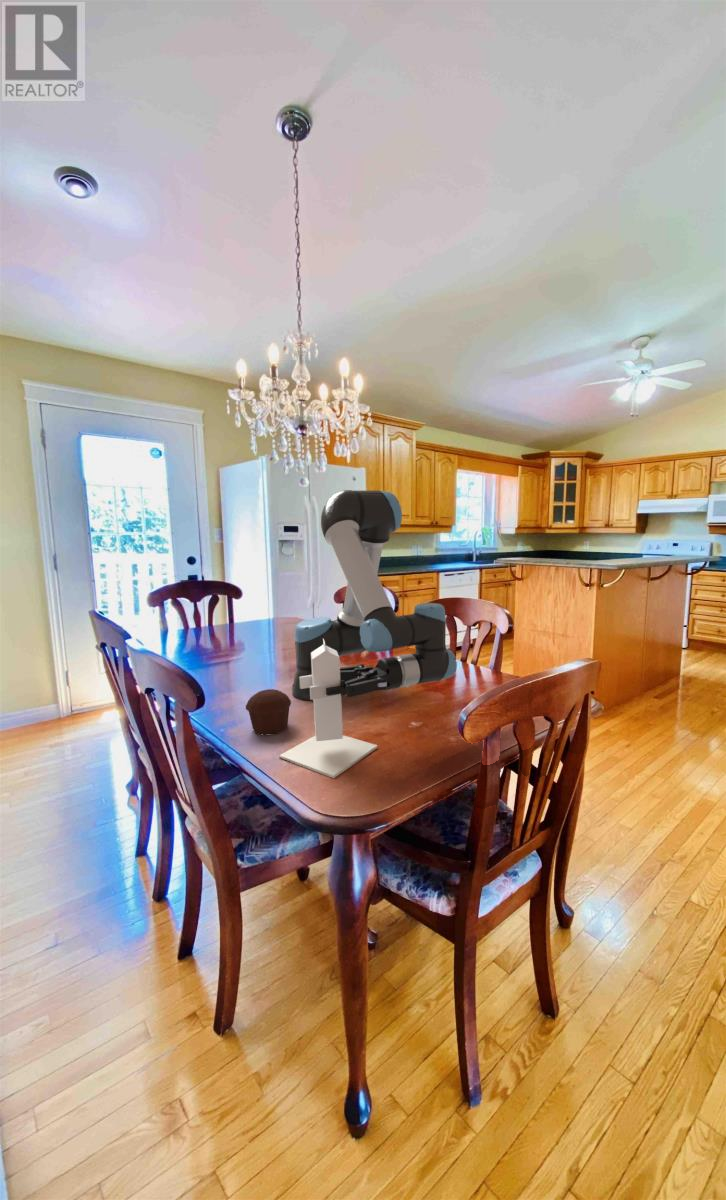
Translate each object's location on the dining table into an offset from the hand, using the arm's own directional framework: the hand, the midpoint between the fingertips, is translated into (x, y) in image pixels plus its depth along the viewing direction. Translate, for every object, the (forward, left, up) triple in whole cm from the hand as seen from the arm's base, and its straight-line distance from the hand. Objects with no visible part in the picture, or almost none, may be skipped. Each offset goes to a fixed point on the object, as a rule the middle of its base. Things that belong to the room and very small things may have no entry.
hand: (305, 687), depth 102 cm
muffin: (-6, -20, -17) cm, 27 cm away
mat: (-4, +2, -16) cm, 17 cm away
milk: (-4, +3, -12) cm, 13 cm away
